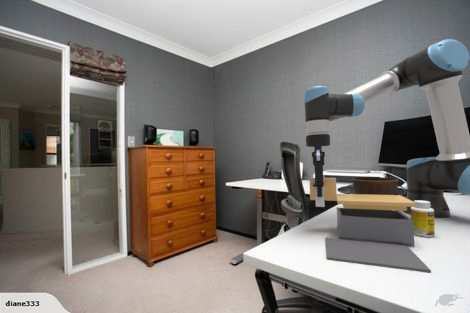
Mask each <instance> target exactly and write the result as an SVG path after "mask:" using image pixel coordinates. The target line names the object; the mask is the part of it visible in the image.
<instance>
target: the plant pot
mask: <svg viewBox="0 0 470 313" xmlns="http://www.w3.org/2000/svg"><path fill="white" fill-rule="evenodd" d="M351 181H352V185H353V186H352V187H353V191H354V194H367V195H398V194H397V193H398V186H399V179H398V178H394V177H379V176H378V177H377V176H364V177H363V176H362V177H360V176H358V177H352V178H351Z"/></svg>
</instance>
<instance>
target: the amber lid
mask: <svg viewBox="0 0 470 313" xmlns="http://www.w3.org/2000/svg"><path fill="white" fill-rule="evenodd" d="M323 182H324V201H327V202H330V201H331V202H332V201H333V202H337V204H338V205H342V206H343V207H342V208H353V209H376V210H396V211H400V212H404V211H407V207H417V203H415V202H413V201H411V200H409V199H407V198H406V197H405V196H402V195H401V194H396V195H367V194H355V193H337V178H336V177H323ZM313 185H315V177H309V200H310V201H315V187H313Z"/></svg>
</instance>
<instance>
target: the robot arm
mask: <svg viewBox="0 0 470 313" xmlns="http://www.w3.org/2000/svg"><path fill="white" fill-rule="evenodd" d="M469 62H470V53H469V51H468V48H467V47H466V46H465V44H463V43H462V42H460V41H459V40H457V39H453V38H451V39H449V38H448V39H447V38H446V39H443V40H440V41H438V42H435V43H434V44H430V45H429V46H428V47H426V48H424V49H422V50H420V51H418V52H416V53H414V54H412V55H409V56H408V57H406V58H404V59H402V60H401V61H400V62H398V63H397V64H395V65H394V66H392V67H390V68H389V69H386V70H385V71H383V72H381V73H380V74H379V75H378V77H376V78H373V79H371V80H369V81H367V82H365V83H363V84H361V85H359V86H357V87H355V88H353V89H350V90H349V91H346V92H345V93H330V90H329V88H328V86H324V85H315V86H311V87H309V88H307V89H306V90H305V92H304V95H303V96H304V98H303V99H304V102H303V104H304V118H305V119H304V121H305V125H304V126H303V129H305V134H306V136H305V146H306V147H308V148H313V147H314V148H313V151H312V152H311V158H312V164H313V166H314V178H315V185H313V187H315V200H314V201H315V207H316V208H319V207H320V208H325V206H326V205H325V204H326V203H325V200H324V182H323V178H324V165H325V157H326V155H325V154H326V153H325V151H322V150H323V148H322V147H329V146H330V145H331V135H330V134H329V133H331V127H330V126H331V123H330V122H332V121H335V120H339V119H342V118H347V117H348V118H353V117H359V116H361V114H362V113H363V112H364V110H365V107H366V106H365V105H366V104H368V103H371V102H372V101H374V100H376V99H379V98H380V97H382V96H385V95H386V94H387V95H388V94H389V95H390V94H395V93H396V92H399V91H401V90H404V89H409V88H412V87H415V86H418V87H419V89H420V90H422V91H425V94H426V98H427V99H426V100H427V104H428V107H429V110H430V115H431V121H432V124H433V128H434V129H433V130H434V133H435V137H436V143H437V147H438V150H439V154H437V156H430V157H429V156H428V157H419V158H413V159H409V160H408V161H407V162H406V169H405V170H406V188H407V195H406V197H405V198H407V199H409V200H411V201H413V202H414V201H415V200H421V201H429V202H430V205H431V206H430V208H432V209H433V210H434V218H448V217H450V216H451V208H450V207H449V205H448V202H447V200H446V198H445V196H444V191H447V192H453V193H460V194H464V195H465V194H466V195H467V194H470V132H469V127H468V122H467V118H466V113H465V109H464V104H463V101H462V95H461V91H460V86H459V81H460V80H461V79H462V78H463V76H464V75H463V70H464V69H465V68H466V67H467V66H468V65H469ZM403 213H408V214H410V215H411V207H407V211H403Z"/></svg>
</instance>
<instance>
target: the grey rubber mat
mask: <svg viewBox="0 0 470 313" xmlns="http://www.w3.org/2000/svg"><path fill="white" fill-rule="evenodd" d="M325 249H326V259H327V260H329V261H330V260H331V261H336V262H345V263H352V264H360V265H368V266H376V267H384V268H385V267H386V268H393V269H399V270H405V271H407V270H409V271H416V272H423V273H429V274H430V273H432V270H431V269H430V267H428V266H427V264H426V263H425V262H423V260H421V259H420V258H419V256H418V255H416V254H415V252H414V251H413V250H412V249H411V248H410V246H407V245H396V244H386V243H375V242H365V241H355V240H344V239H340V238H333V237H332V238H331V237H325Z"/></svg>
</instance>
